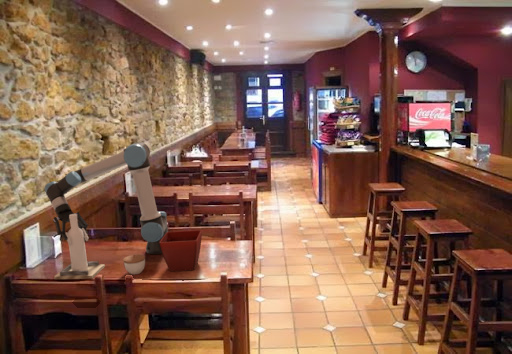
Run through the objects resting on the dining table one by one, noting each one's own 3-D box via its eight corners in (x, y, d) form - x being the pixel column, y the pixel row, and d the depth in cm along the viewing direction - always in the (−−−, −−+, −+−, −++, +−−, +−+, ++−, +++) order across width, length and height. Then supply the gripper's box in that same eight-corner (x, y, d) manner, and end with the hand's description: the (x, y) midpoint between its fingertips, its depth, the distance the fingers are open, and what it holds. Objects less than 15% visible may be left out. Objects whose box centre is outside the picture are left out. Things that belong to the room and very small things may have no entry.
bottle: (91, 268, 252) (84, 212, 247) (81, 273, 245) (74, 216, 240) (78, 267, 255) (71, 212, 250) (68, 272, 248) (61, 216, 242)
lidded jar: (127, 269, 252) (125, 252, 250) (147, 267, 252) (145, 250, 251) (123, 277, 241) (121, 259, 239) (144, 275, 242) (142, 257, 240)
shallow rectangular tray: (104, 266, 257) (104, 260, 257) (92, 278, 241) (91, 271, 241) (69, 267, 259) (68, 261, 258) (54, 279, 243) (53, 272, 243)
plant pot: (169, 261, 260) (166, 231, 257) (204, 259, 260) (202, 229, 257) (161, 274, 241) (158, 242, 239) (199, 272, 241) (196, 240, 238)
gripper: (79, 207, 263) (96, 240, 254) (40, 216, 248) (57, 251, 240) (82, 199, 258) (100, 232, 250) (42, 207, 243) (60, 243, 235)
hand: (79, 241), depth 245 cm, fingers open, 8 cm apart
